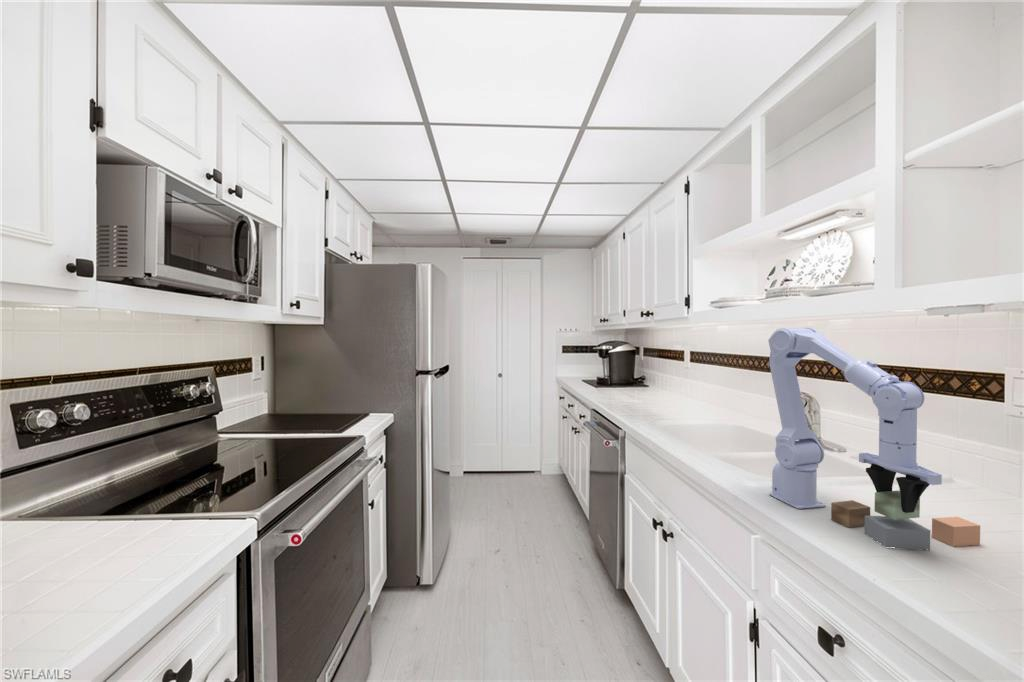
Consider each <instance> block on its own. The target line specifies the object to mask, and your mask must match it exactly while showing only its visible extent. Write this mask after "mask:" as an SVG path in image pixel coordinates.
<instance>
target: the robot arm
mask: <svg viewBox="0 0 1024 682" xmlns="http://www.w3.org/2000/svg"><path fill="white" fill-rule="evenodd" d="M768 345H769V346H768V347H769V350H770V351H769V352H770V353H769V358H768V359H769V360H768V361H769V362H768V363H769V368H770V369H769V370H770V373H771V378H772V379H771V380H772V383H773V388H774V394H775V398H776V403H777V408H778V413H779V418H780V423H781V428H782V429H781V431H779V432H778V434H777V435H776V436H775V442H776V443H775V444H776V445H775V450H774V453H775V455H774V456H775V458H776V460H777V463H775V464H774V466H773V468H772V471H771V472H772V473H771V474H772V476H771V478H772V479H771V483H772V484H771V485H772V486H771V491H772V492H769V495H770V496H771V497H773V498H775V499H777V500H779V501H782V502H784V503H785V504H787V505H789V506H791V507H793V508H795V509H798V510H800V509H801V510H803V509H812V508H824V507H826V504H825V503H823V502H821V501H819V500H817V488H818V487H817V477H818V475H817V469H819V465H820V464H821V463H823V461H824V458H825V450H824V448H823V446H822V445H821V443H820V442H819V439H818V435H817V433H815V432H814V431H812V430H811V429H810V428H809V426H808V422H807V418H806V413H805V407H804V403H803V399H802V394H801V393H802V392H801V389H800V385H799V379H798V375H797V370H796V366H797V364H799V362H800V361H801V360H802V359H804V358H805V357H807V356H808V355H810V354H814V355H816V356H817V357H819V358H821V359H822V360H824V361H826V362H827V363H829V364H831V365H832V366H834V367H836V368H837V369H838V370H841V371H842V372H844V378H845V380H846V381H848V382H849V383H850V384H851V385H853V386H855V387H856V388H858V389H859V390H860V391H862V392H863V393H865V394H866V395H867V396H869V397H870V398H871V400H872V403H873V404H874V406H875V407H876V408H877V415H878V417H879V418H878V419H879V421H878V422H879V423H878V431H879V432H878V455H877V454H873V453H869V452H859V453H858V462H859V463H862V464H869V465H870V466H869V467H866V468H865V472H866V474H867V475H868V477H869V478H870V480H871V481H872V484H873V486H874V488H875V491H876V492H887V491H893V485H894V481H895V480H896V483H897V484H898V488H899V489H898V490H899V491H900V494H901V506H902V511H903V512H905V513H911V512H914V510H915V507H916V505H917V502H918V500H919V498H920V499H921V496H922V495H923V493H924V492H925V490H927V489H928V487H929V486H930V485H932V486H935V485H936V486H937V485H942V481H943V480H942V478H943V474H942V473H939V472H935V471H932V470H930V469H928V468H925V467H923V466H921V465H918V462H917V448H918V447H917V445H918V444H917V440H918V439H917V438H918V437H917V436H918V435H917V434H918V409H919V408H921V407H922V406H923V404H924V403H925V394H924V392H923V390H922V389H921V388H920V387H919V386H917V385H916V384H915V383H914V382H911V381H901V380H899V379H900V377H898V376H897V375H895V374H893V375H891V374H890V373H888V372H887V371H885V370H883V369H882V368H880V367H879V366H878V365H879V364H878V363H877V362H876V361H874V360H867V359H859V360H857V359H855V358H854V357H852V356H851V355H850V354H848V353H847V352H845V351H844V350H843V349H841V348H840V347H839V346H837V345H835V344H834V343H833V342H831V341H830V340H829V339H827V338H826V337H825V335H824V334H823V333H821V332H819V331H817V330H815V329H814V328H812V327H803V328H801V327H800V328H786V327H780V328H777V329H776V330H775V331H773V333H772V334H771V335H770V337H769V338H768ZM896 474H899V475H904V476H897V477H896Z"/></svg>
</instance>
